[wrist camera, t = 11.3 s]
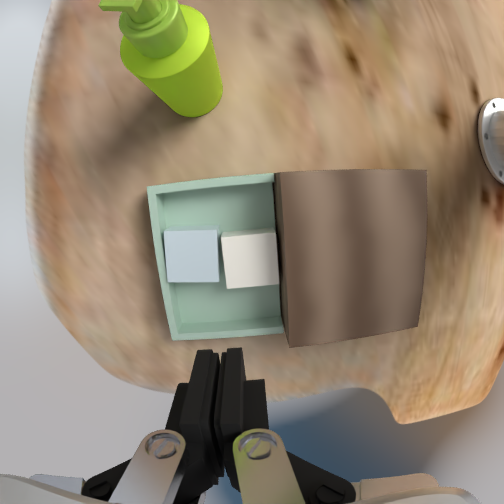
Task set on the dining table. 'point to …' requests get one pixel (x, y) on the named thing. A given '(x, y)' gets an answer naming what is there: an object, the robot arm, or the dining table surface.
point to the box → (216, 293)
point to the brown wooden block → (350, 252)
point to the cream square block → (250, 258)
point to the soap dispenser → (170, 53)
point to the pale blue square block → (192, 253)
